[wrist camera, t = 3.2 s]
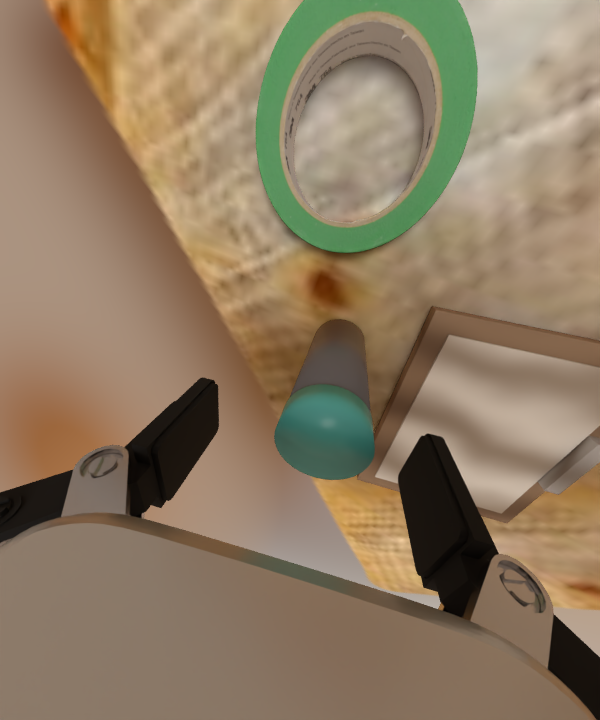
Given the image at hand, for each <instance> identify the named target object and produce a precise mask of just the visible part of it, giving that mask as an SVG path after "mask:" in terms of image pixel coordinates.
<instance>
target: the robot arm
mask: <svg viewBox="0 0 600 720" xmlns="http://www.w3.org/2000/svg"><path fill="white" fill-rule="evenodd" d="M218 413H219V412H218V385H217V384H215V381H214V380H210V379H206V378H200V379H199V380H198V381H197V382H196V383H195V384H194V385H193V386H191V388H189V389H188V390H187V391H186V392H185V393H184V394H183V395H182V396H181V397H180V398H179V399H178V400H177V401H174V402H173V403H172V404H170V405H169V406H168V407H167V408H166V409H165V410H164V411H163V412H162V413H161V414H160V415H159V416H157V417H156V418H155V419H154V420H153V421H152V422H151V423H150V424H149V425H148V426H147V427H146V428H145V429H143V430H142V431H141V432H140V433H139V434H138V435H137V436H136V437H135V438H134V439H133V440H132V441H131V442H130V443H129V444H128V445H126V446H125V447H122V446H119V445H110V446H104V447H101V448H98V449H95V450H94V451H92V452H90V453H88V454H87V455H85V456H84V457H83V458H81V459H80V461H79V462H78V463H77V464H76V466H75V468H74V470H70V471H67V472H64V473H61V474H58V475H54V476H51V477H48V478H46V479H42V480H39V481H36V482H32V483H29V484H26V485H23V486H20V487H16V488H14V489H10V490H7V491H4V492H1V493H0V720H600V657H599V656H598V655H597V654H595V653H594V652H593V651H592V650H591V649H590V648H589V647H588V646H587V645H586V644H585V643H584V642H583V641H582V640H580V638H578V637H577V636H576V635H575V634H574V633H573V632H572V631H571V630H570V629H569V628H568V627H567V626H566V625H565V624H564V623H563V622H561V621H560V620H559V619H558V618H557V617H556V616H555V615H554V613H553V605H552V602H551V600H550V597H549V595H548V593H547V592H546V590H545V588H544V587H543V585H542V584H541V582H540V581H539V580H538V579H537V578H536V576H535V575H534V574H533V573H532V572H531V571H530V570H529V569H528V568H527V567H526V566H524V565H523V564H522V563H520V562H519V561H517V560H516V559H514V558H512V557H510V556H508V555H503V554H499V553H498V551H497V549H496V547H495V545H494V542H493V540H492V538H491V536H490V534H489V532H488V530H487V528H486V526H485V524H484V522H483V519H482V517H481V515H480V513H479V511H478V509H477V507H476V505H475V503H474V501H473V499H472V496H471V494H470V492H469V490H468V488H467V486H466V484H465V482H464V480H463V478H462V476H461V473H460V471H459V469H458V467H457V465H456V463H455V461H454V459H453V457H452V455H451V453H450V450H449V448H448V446H447V444H446V442H445V440H444V438H443V437H441V436H437V435H433V434H429V433H427V434H425V436H421V437H420V438H419V440H418V442H417V443H416V445H415V447H414V449H413V450H412V452H411V454H410V455H409V457H408V459H407V460H406V462H405V464H404V466H403V467H402V469H401V471H400V472H399V475H398V485H399V490H400V494H401V499H402V504H403V509H404V514H405V519H406V524H407V529H408V534H409V538H410V543H411V548H412V553H413V558H414V563H415V568H416V571H417V574H418V575H419V576H421V578H422V583H423V587H424V588H427V589H430V590H433V591H437V592H438V594H439V598H440V602H441V604H440V606H439V608H438V609H435V608H433V607H430V606H427V605H424V604H421V603H418V602H414V601H412V600H408V599H406V598H403V597H399V596H396V595H393V594H390V593H387V592H384V591H380V590H377V589H374V588H371V587H368V586H365V585H361V584H358V583H355V582H352V581H349V580H345V579H342V578H339V577H336V576H333V575H330V574H326V573H323V572H320V571H316V570H313V569H310V568H307V567H303V566H300V565H297V564H294V563H290V562H287V561H284V560H281V559H278V558H274V557H271V556H268V555H265V554H261V553H258V552H255V551H252V550H248V549H245V548H242V547H239V546H235V545H232V544H229V543H225V542H222V541H219V540H215V539H212V538H209V537H206V536H202V535H199V534H196V533H192V532H189V531H186V530H182V529H179V528H175V527H171V526H168V525H164V524H161V523H157V522H154V521H150V520H146V519H144V512H146V511H147V509H148V508H149V507H150V505H153V506H156V507H159V508H161V507H162V506H163V505H164V503H165V502H166V500H168V501H169V500H171V499H172V498H173V496H174V495H175V493H176V492H177V491H178V489H179V488H180V486H181V484H182V483H183V482H184V480H185V479H186V477H187V476H188V474H189V473H190V471H191V470H192V468H193V467H194V465H195V464H196V462H197V461H198V460H199V458H200V456H201V455H202V454H203V452H204V451H205V449H206V448H207V446H208V445H209V443H210V442H211V440H212V439H213V437H214V436H215V434H216V433H217V431H218V427H219V414H218Z"/></svg>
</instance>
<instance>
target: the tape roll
mask: <svg viewBox="0 0 600 720" xmlns="http://www.w3.org/2000/svg"><path fill="white" fill-rule="evenodd" d="M367 55H374V56H380V57H383V58H386V59H388V60H391V61H393V62H394V63H396V64H397V65H399V66H400V67H401V68H402V69H403V70H404V71H405V72H406V73H407V74H408V75H409V77H410V78H411V79H412V81H413V83H414V84H415V86H416V89H417V91H418V94H419V96H420V100H421V103H422V109H423V117H424V135H423V142H422V148H421V153H420V156H419V160H418V163H417V166H416V168H415V171H414V173H413V175H412V177H411V179H410V181H409V182H408V184H407V186H406V187H405V189H404V190H403V192H402V193H401V194H400V196H399V197H398V198H397V199H396V200H395V201H394V202H393V203H392V204H391V205H390V206H389V207H388V208H386V209H384V210H383V211H381V212H380V213H378V214H376V215H374V216H372V217H370V218H365V219H361V220H356V221H354V222H351V223H344V222H336V221H332V220H329V219H326V218H325V217H323V216H321V215H320V214H319V213H317V212H316V211H315V210H314V209H313V208H312V207H311V206H310V204H309V203H308V202H307V200H306V199H305V197H304V195H303V193H302V191H301V189H300V187H299V184H298V181H297V177H296V173H295V167H294V141H295V134H296V130H297V125H298V122H299V119H300V116H301V113H302V111H303V108H304V106H305V104H306V102H307V100H308V98H309V97H310V95H311V93H312V92H313V90H314V89H315V88H316V86H317V85H318V84H319V82H320V81H321V80H322V79H323V78H324V77H325V76H326V75H327V74H328V73H329V72H330V71H331V70H332V69H334V68H335V67H336V66H338V65H339V64H341V63H343V62H345V61H347V60H350V59H353V58H356V57H360V56H367ZM476 95H477V60H476V52H475V47H474V41H473V36H472V33H471V29H470V26H469V24H468V21H467V18H466V16H465V14H464V11H463V9H462V7H461V5H460V3H459V2H458V0H304V1H303V2H302V3H301V4H300V6H299V7H298V8H297V9H296V11H295V12H294V14H293V15H292V16H291V18H290V20H289V21H288V23H287V24H286V26H285V27H284V29H283V31H282V33H281V35H280V37H279V39H278V41H277V43H276V45H275V47H274V50H273V52H272V54H271V58H270V60H269V62H268V65H267V69H266V72H265V75H264V79H263V83H262V87H261V92H260V96H259V102H258V109H257V118H256V150H257V158H258V164H259V169H260V173H261V177H262V181H263V184H264V187H265V189H266V192H267V194H268V197H269V199H270V201H271V203H272V205H273V207H274V208H275V210H276V212H277V213H278V215H279V216H280V218H281V219H282V220H283V222H284V223H285V224H286V225H287V226H288V227H289V228H290V229H291V230H292V231H293V232H294V233H295V234H296V235H297V236H299V237H300V238H301V239H303V240H304V241H306V242H307V243H309V244H311V245H313V246H315V247H318V248H320V249H323V250H327V251H331V252H338V253H354V252H361V251H366V250H370V249H373V248H376V247H379V246H381V245H383V244H386V243H388V242H389V241H391V240H393V239H395V238H397V237H398V236H400V235H401V234H403V233H404V232H405V231H407V230H408V229H409V228H411V227H412V226H413V225H414V224H415V223H416V222H417V221H419V220H420V219H421V218H422V217H423V216H424V214H425V213H426V212H427V211H428V210H429V209H430V208H431V207H432V205H433V204H434V203H435V202H436V200H437V199H438V198H439V196H440V195H441V194H442V192H443V191H444V189H445V188H446V186H447V184H448V183H449V181H450V179H451V177H452V175H453V174H454V172H455V170H456V168H457V165H458V163H459V161H460V159H461V156H462V154H463V151H464V149H465V146H466V143H467V140H468V137H469V133H470V129H471V125H472V121H473V116H474V111H475V103H476Z"/></svg>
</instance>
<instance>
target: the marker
mask: <svg viewBox="0 0 600 720" xmlns="http://www.w3.org/2000/svg"><path fill="white" fill-rule="evenodd" d="M274 437H275V438H274V439H275V444H276V447H277V449H278V451H279V453H280V455H281V456H282V457H283V458H284V460H285V461H286V462H287V463H289V464H290V465H291V466H292V467H294V468H295V469H297V470H299V471H300V472H303V473H305V474H307V475H310V476H312V477H316V478H321V479H328V480H339V479H346V478H350V477H353V476H356V475H358V474H360V473H361V472H363V471H364V470H365V469H367V467H368V466H369V465H370V464H371V462H372V460H373V458H374V453H375V445H374V434H373V423H372V416H371V413H370V401H369V389H368V377H367V365H366V353H365V341H364V336H363V334H362V332H361V330H360V329H359V328H358V327H357V326H356V325H355V324H353V323H351V322H349V321H346V320H332V321H329V322H327V323H325V324H323V325H322V326H321V327H320V328H319V329H318V331H317V332H316V334H315V337H314V339H313V342H312V344H311V347H310V349H309V352H308V354H307V356H306V359H305V361H304V364H303V366H302V369H301V371H300V374H299V376H298V378H297V381H296V383H295V386H294V388H293V391H292V393H291V396H290V398H289V399H288V401H287V403H286V405H285V407H284V410H283V412H282V415H281V417H280V419H279V422H278V424H277V427H276V430H275V436H274Z"/></svg>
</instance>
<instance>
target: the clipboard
mask: <svg viewBox="0 0 600 720" xmlns="http://www.w3.org/2000/svg"><path fill="white" fill-rule="evenodd" d="M427 433H429V434H433V435H437V436H441V437H443V438H444V440H445V442H446V444H447V446H448V448H449V450H450V453H451V455H452V457H453V459H454V461H455V463H456V465H457V467H458V469H459V471H460V473H461V476H462V478H463V480H464V482H465V484H466V486H467V488H468V490H469V492H470V494H471V496H472V499H473V501H474V503H475V505H476V507H477V509H478V511H479V513H480V515H481V516H483V517H487V518H490V519H494V520H497V521H500V522H504V523H508V522H509V521H510V520H512V519H513V518H514V517H515V516H516V515H518V514H519V513H520V512H521V511H522V510H524V509H525V508H526V507H527V506H528V505H529V504H531V503H532V502H533V501H534V500H535V499H537V498H538V497H539V496H540V495H541V494H543V493H544V492H545V491H547V492H551V493H555V494H558V495H559V494H560V493H562V492H563V491H564V490H565V489H567V488H568V487H569V486H570V485H572V484H573V483H574V482H575V481H577V480H578V479H579V478H580V477H582V476H583V475H584V474H585V473H587V472H588V471H589V470H590V469H592V468H593V467H594V466H596V465H597V464H598V463H599V462H600V341H598V340H593V339H588V338H583V337H579V336H574V335H569V334H564V333H559V332H554V331H550V330H545V329H540V328H535V327H530V326H525V325H521V324H516V323H511V322H506V321H501V320H496V319H492V318H487V317H482V316H477V315H472V314H467V313H462V312H458V311H453V310H448V309H443V308H438V307H433V306H432V308H431V310H430V312H429V314H428V317H427V319H426V321H425V323H424V325H423V328H422V330H421V332H420V334H419V336H418V339H417V341H416V343H415V345H414V348H413V350H412V352H411V354H410V356H409V359H408V361H407V363H406V365H405V367H404V370H403V372H402V374H401V376H400V378H399V381H398V383H397V385H396V387H395V390H394V392H393V394H392V396H391V398H390V401H389V403H388V405H387V407H386V409H385V412H384V414H383V416H382V418H381V421H380V423H379V425H378V427H377V429H376V432H375V434H374V445H375V453H374V458H373V460H372V462H371V464H370V465H369V466H368V467H367V469H365V470H364V471H363V472H361V473H360V474H358V475H357V479H358V480H361V481H364V482H368V483H371V484H375V485H378V486H381V487H385V488H388V489H392V490H395V491H398V492H400V490H399V485H398V475H399V472H400V471H401V469H402V467H403V466H404V464H405V462H406V460H407V459H408V457H409V455H410V454H411V452H412V450H413V449H414V447H415V445H416V443H417V442H418V440H419V438H420V437H421V436H425V434H427Z"/></svg>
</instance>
